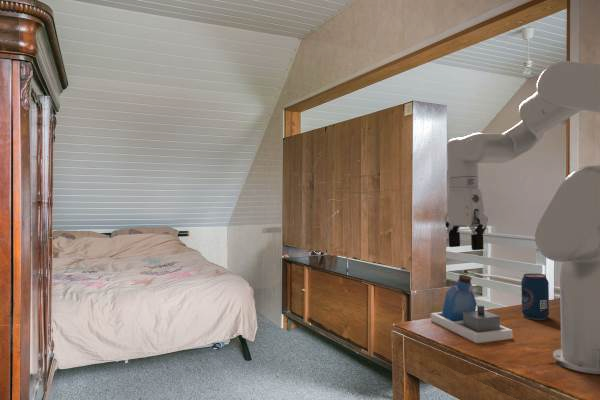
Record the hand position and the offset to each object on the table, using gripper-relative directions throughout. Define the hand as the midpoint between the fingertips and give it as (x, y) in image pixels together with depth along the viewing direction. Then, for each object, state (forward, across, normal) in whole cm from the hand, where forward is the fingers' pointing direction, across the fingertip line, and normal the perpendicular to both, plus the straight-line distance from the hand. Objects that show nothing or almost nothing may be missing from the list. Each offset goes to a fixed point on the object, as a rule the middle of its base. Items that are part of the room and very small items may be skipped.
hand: (465, 248), depth 122 cm
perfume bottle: (+19, +2, +2) cm, 20 cm away
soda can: (+22, +2, -24) cm, 32 cm away
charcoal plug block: (+20, -9, +3) cm, 22 cm away
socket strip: (+21, -4, +3) cm, 22 cm away
